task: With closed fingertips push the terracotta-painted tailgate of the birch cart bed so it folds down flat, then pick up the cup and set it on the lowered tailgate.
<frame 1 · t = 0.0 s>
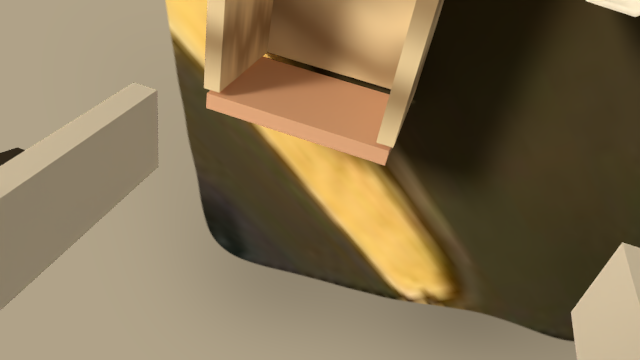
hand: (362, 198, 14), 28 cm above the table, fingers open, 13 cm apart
tailgate: (314, 102, 39), point 5 cm above the table, hinge at 0.0°
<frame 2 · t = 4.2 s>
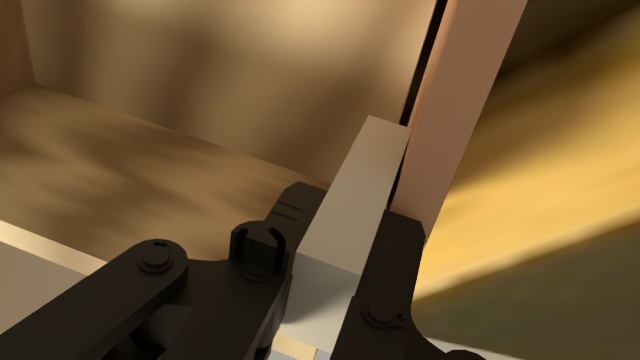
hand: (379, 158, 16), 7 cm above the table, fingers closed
tailgate: (422, 147, 17), point 5 cm above the table, hinge at 3.0°, touching gripper
cart bed: (198, 15, 23), on the table
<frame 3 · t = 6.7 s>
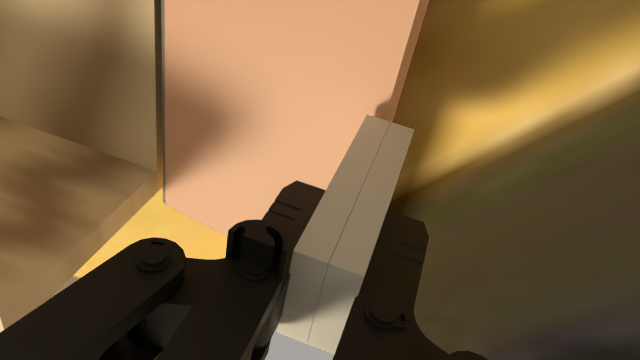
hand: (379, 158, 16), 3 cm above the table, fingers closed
tailgate: (266, 96, 18), point 2 cm above the table, hinge at 80.8°, touching gripper
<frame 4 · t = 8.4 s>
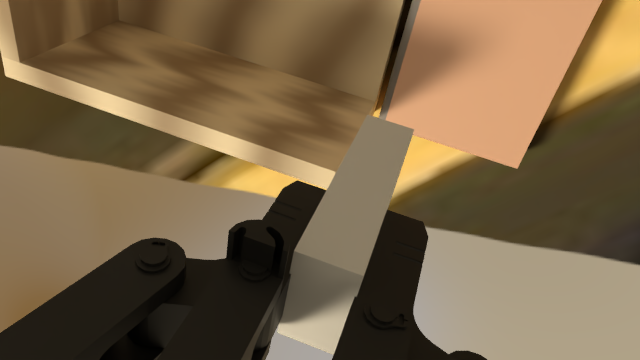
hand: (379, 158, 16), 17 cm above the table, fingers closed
tailgate: (486, 38, 28), point 1 cm above the table, hinge at 90.1°
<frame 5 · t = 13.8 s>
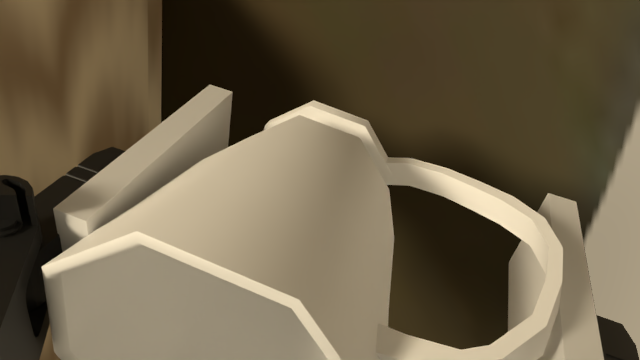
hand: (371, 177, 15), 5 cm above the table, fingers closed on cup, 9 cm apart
cart bed: (36, 104, 25), on the table
cup: (372, 163, 16), point 5 cm above the table, touching gripper
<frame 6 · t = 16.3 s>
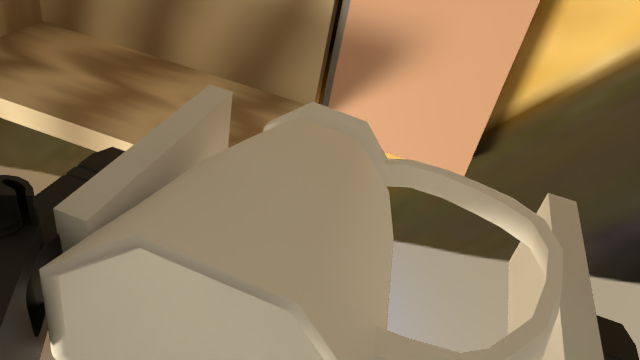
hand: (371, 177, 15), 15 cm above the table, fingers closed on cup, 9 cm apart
tailgate: (423, 38, 26), point 1 cm above the table, hinge at 90.1°
cup: (371, 165, 15), point 14 cm above the table, touching gripper
when the fingers open (3 cm above the table, at t = 18.8 s): cup moves 2 cm, resting on tailgate.
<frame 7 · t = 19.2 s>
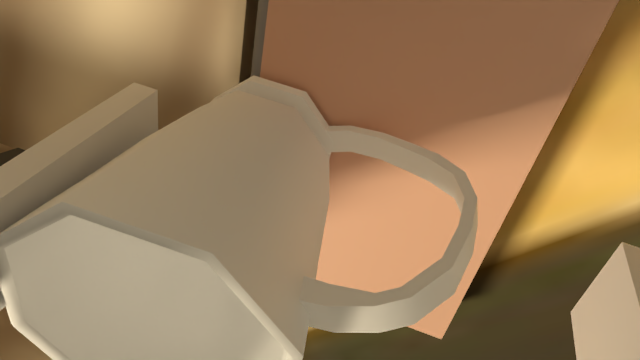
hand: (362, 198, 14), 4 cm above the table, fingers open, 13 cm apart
tailgate: (375, 148, 17), point 1 cm above the table, hinge at 90.2°, touching cup
cart bed: (12, 14, 20), on the table
cup: (315, 133, 16), point 2 cm above the table, touching gripper, tailgate
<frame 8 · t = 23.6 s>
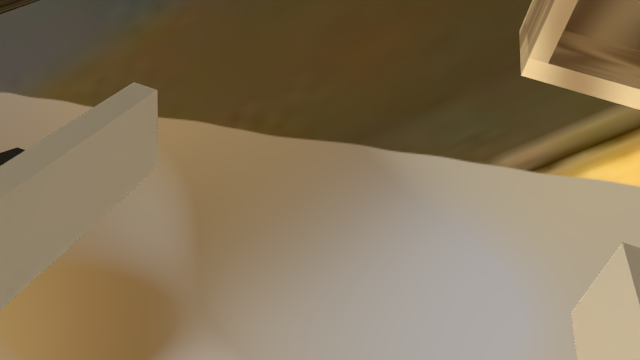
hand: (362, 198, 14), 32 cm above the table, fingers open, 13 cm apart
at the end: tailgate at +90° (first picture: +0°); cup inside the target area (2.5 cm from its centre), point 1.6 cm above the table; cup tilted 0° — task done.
